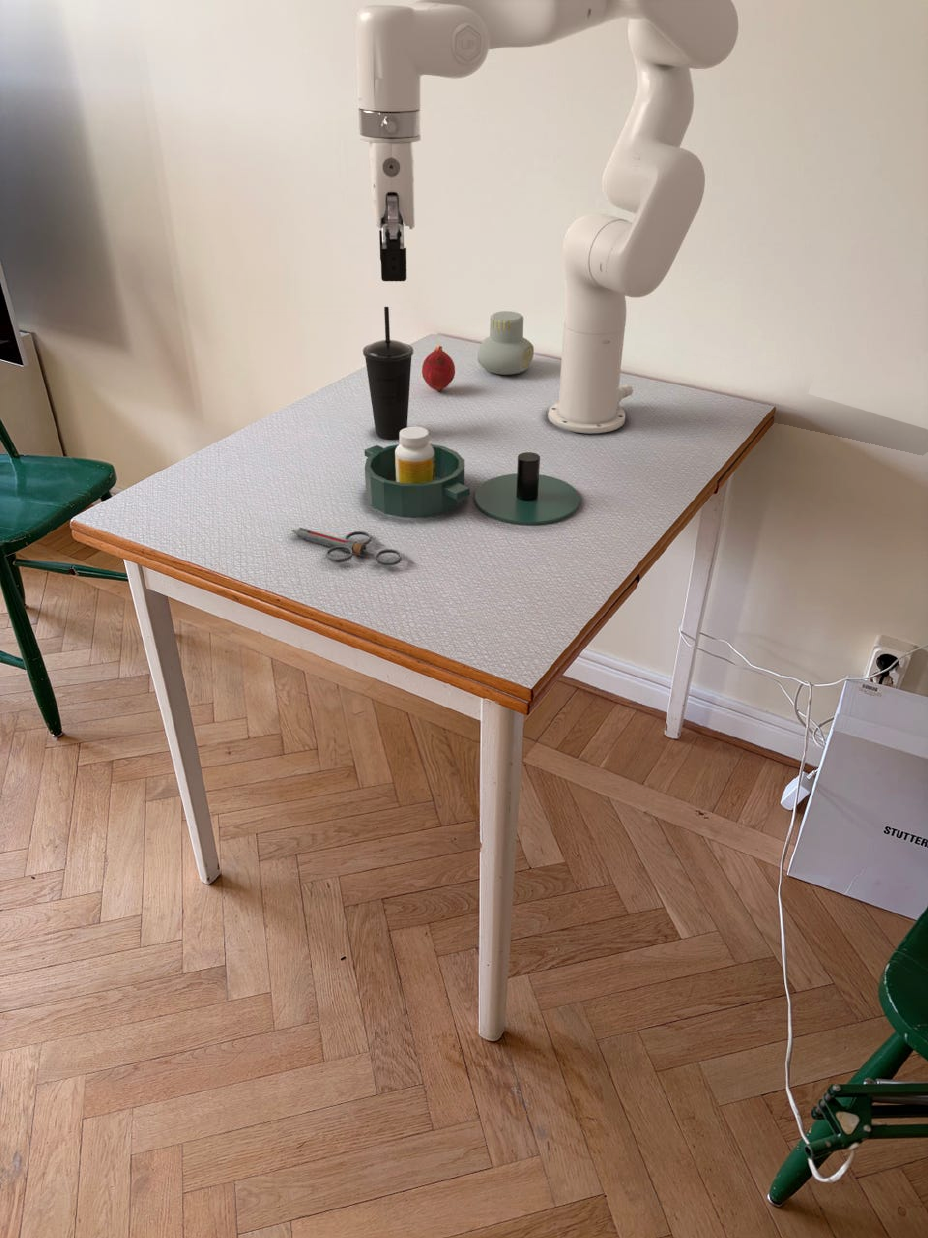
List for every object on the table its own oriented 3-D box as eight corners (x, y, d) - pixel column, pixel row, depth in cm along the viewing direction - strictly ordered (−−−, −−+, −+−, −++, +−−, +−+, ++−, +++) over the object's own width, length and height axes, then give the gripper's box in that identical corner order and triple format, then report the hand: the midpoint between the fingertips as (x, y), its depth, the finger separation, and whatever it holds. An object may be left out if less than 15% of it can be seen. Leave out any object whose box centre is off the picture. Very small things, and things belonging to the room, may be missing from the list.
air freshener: (495, 357, 180) (496, 304, 174) (536, 363, 177) (539, 310, 171) (473, 376, 171) (473, 321, 166) (515, 383, 169) (517, 327, 163)
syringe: (299, 520, 127) (298, 509, 126) (415, 552, 120) (415, 540, 119) (264, 546, 121) (262, 534, 120) (384, 581, 114) (383, 569, 114)
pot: (406, 461, 142) (405, 429, 139) (497, 504, 131) (499, 470, 128) (335, 490, 134) (332, 456, 131) (426, 538, 123) (425, 502, 120)
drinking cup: (418, 424, 153) (415, 300, 142) (411, 444, 147) (408, 316, 136) (372, 422, 154) (365, 298, 142) (363, 442, 148) (355, 314, 136)
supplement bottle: (390, 491, 133) (388, 428, 128) (425, 484, 135) (424, 421, 130) (405, 507, 129) (403, 443, 124) (441, 499, 131) (440, 435, 126)
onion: (454, 397, 163) (454, 352, 158) (421, 397, 163) (420, 351, 159) (455, 385, 168) (455, 340, 163) (423, 384, 168) (422, 340, 163)
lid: (523, 470, 140) (525, 425, 136) (600, 503, 131) (605, 457, 127) (452, 502, 131) (452, 455, 127) (530, 540, 123) (533, 491, 119)
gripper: (424, 136, 108) (424, 288, 118) (417, 117, 122) (417, 254, 132) (358, 135, 107) (364, 288, 117) (359, 116, 122) (364, 254, 131)
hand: (392, 270), depth 125 cm, fingers open, 9 cm apart
